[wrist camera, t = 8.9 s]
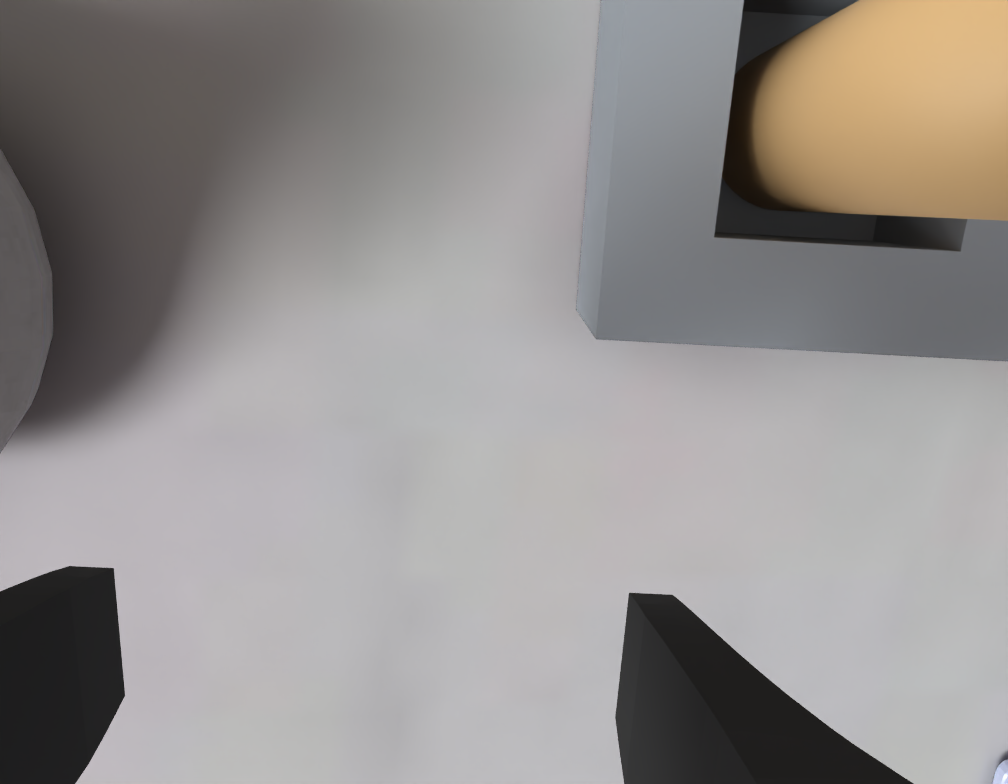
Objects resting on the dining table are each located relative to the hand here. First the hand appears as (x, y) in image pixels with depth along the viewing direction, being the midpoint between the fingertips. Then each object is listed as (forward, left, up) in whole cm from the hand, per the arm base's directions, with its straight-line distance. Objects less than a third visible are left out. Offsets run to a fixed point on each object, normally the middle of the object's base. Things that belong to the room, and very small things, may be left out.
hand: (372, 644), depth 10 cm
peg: (-8, -8, -9) cm, 14 cm away
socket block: (-8, -8, -9) cm, 15 cm away
